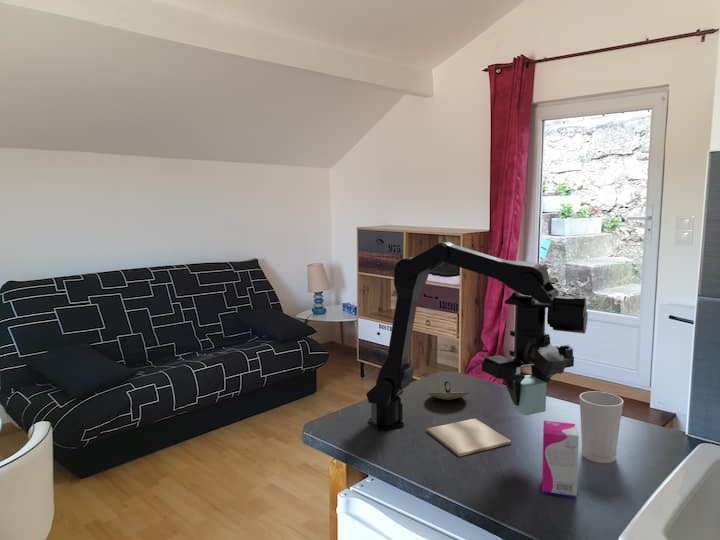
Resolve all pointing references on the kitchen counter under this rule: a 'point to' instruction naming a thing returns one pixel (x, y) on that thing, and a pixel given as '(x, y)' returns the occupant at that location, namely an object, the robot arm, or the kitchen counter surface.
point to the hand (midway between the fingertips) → (526, 402)
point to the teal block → (531, 396)
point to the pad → (468, 437)
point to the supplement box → (560, 459)
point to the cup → (600, 425)
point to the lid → (448, 394)
